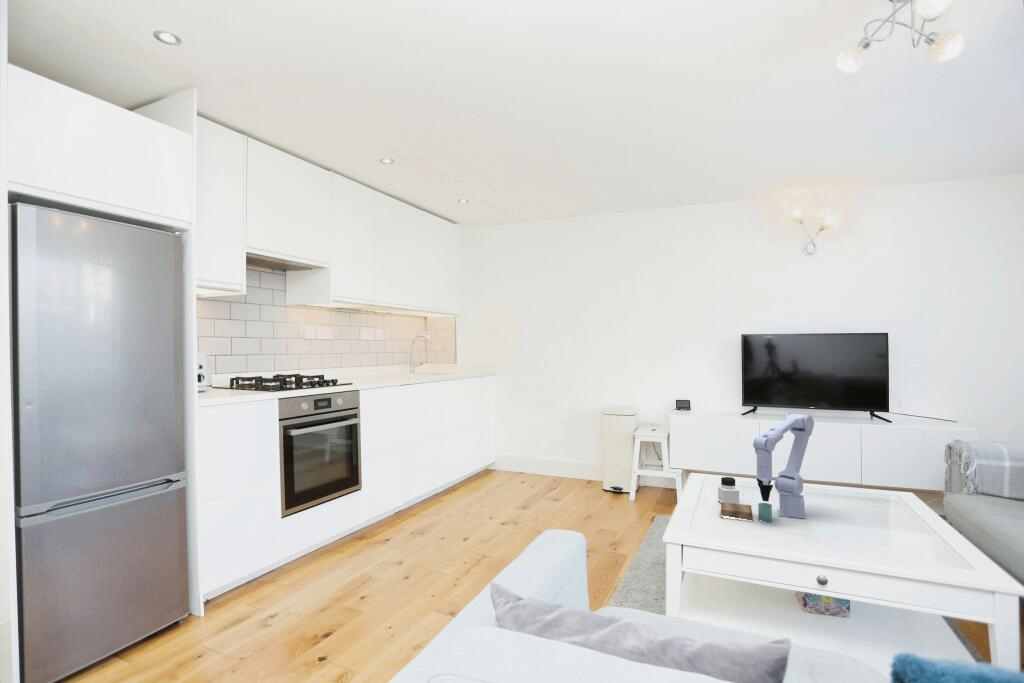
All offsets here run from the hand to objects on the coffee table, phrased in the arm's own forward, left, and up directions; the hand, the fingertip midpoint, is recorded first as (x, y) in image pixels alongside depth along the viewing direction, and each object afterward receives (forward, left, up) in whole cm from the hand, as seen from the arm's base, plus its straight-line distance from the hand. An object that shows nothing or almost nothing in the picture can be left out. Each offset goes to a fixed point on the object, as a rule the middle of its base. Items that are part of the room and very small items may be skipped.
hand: (764, 498), depth 214 cm
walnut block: (+11, -2, -9) cm, 15 cm away
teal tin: (0, 0, -9) cm, 9 cm away
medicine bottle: (+14, -21, -9) cm, 27 cm away
